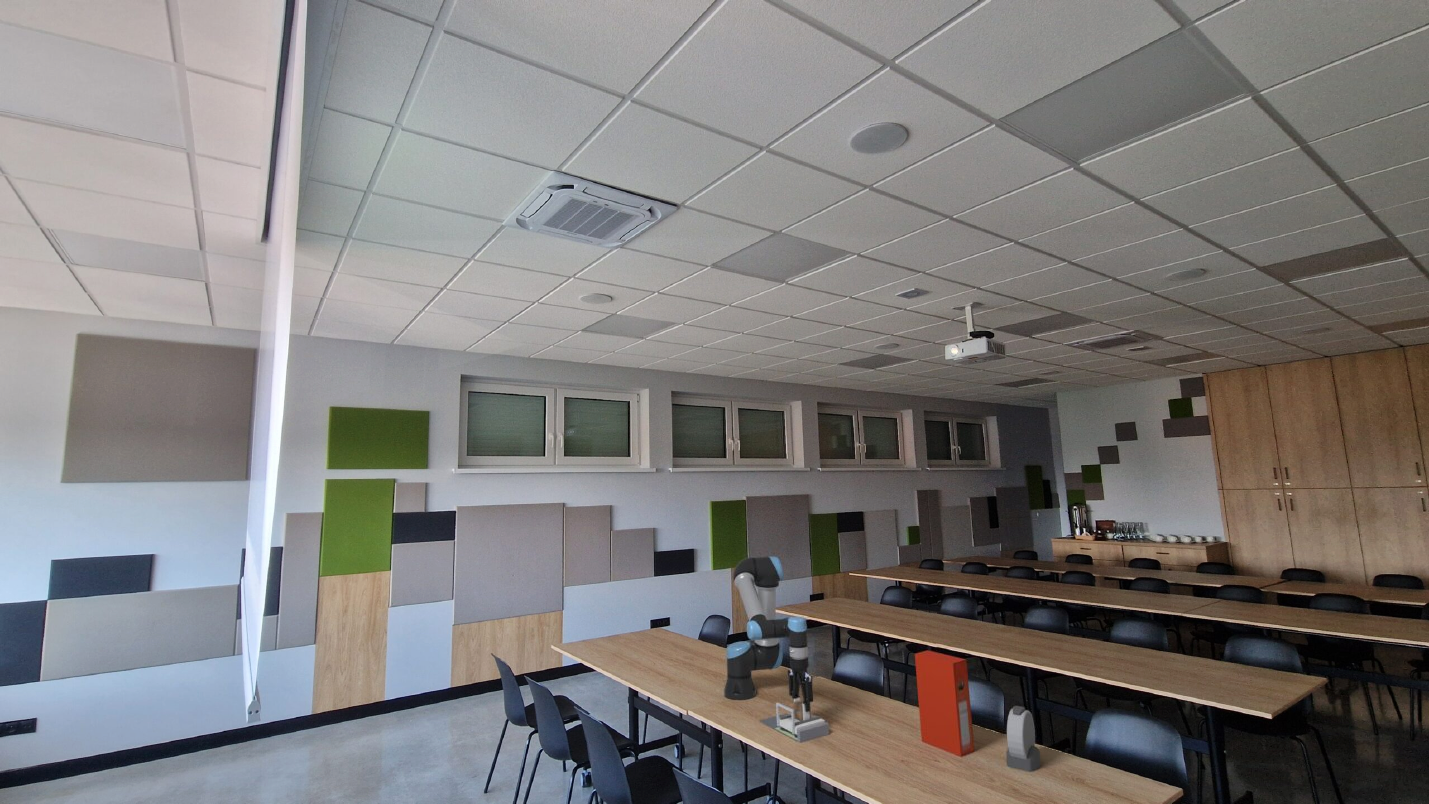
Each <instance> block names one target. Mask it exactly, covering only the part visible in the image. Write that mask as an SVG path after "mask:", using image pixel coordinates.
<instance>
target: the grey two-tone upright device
mask: <svg viewBox="0 0 1429 804" xmlns="http://www.w3.org/2000/svg"><path fill="white" fill-rule="evenodd" d="M1006 722H1007V723H1006V740H1007V749H1006V752H1005V755H1006V766H1007V767H1008V768H1010V769H1011V768H1012V769H1016V770H1019V771H1023V772H1028V773H1033V772H1036V771H1037V770H1038V769H1039V768H1040V767H1041V765H1042V763H1041V762H1042V761H1041V755H1040V749H1039V748H1038V747H1037V746H1035V745H1036V741H1035V740H1036V734H1035V733H1036V731H1035V724H1034V718H1033V715H1032V713H1031V712H1030V710H1028V709H1026V706H1025V707H1024V706H1021V705H1013V707H1012V708H1011V709H1010V710H1009V714H1008V716H1007V721H1006Z"/></svg>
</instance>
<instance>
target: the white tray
mask: <svg viewBox="0 0 1429 804" xmlns="http://www.w3.org/2000/svg"><path fill="white" fill-rule="evenodd" d="M780 708H782V709H784V710H787V711H788V712H791V713H790V714H789V715H786V716H783V717H779V715H780ZM775 709H776V711H775V712H776V716H777V726H780V728H781V730H785V729H787V730H789V731H791V732H792V734H794V736H795V737H796V738H797V730H801V729H804V728H808V727H811V726H815V725H819V724H822V723H826V721H825V719H822V717H821V716H819V715H818V716H816V715H814V714H812V713H811V719H807V720H803V721H799V720H797V719H795V717H794V710H793V708H791V707H789V706H787V705H784V704H782V703H780V702H776V703H775Z"/></svg>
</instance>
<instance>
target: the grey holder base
mask: <svg viewBox="0 0 1429 804" xmlns="http://www.w3.org/2000/svg"><path fill="white" fill-rule="evenodd" d="M786 715H790V714H788V713H783V714H779V717H783V716H786ZM758 722H759V723H762V724H763V725H765V726H767V727H770V728H771V729H773V730H775V731H777V732H779V733H781V734H782V735H785V737H789V738H790V739H792V740H794V741H796V742H798V743H799V744H800V743H805V742H808V741H811V740H814V739H819V738H822V737H824V736H829V735H830V729H829V727H830V726H829V723H828V722H825V723H822V724H819V725H815V726H811V727H808V728H804V729H801V730H797V738H796V737H795V736H794V734H792V732H791V731H789V730H787V729H785V730H781V728H780V726H777V715H776V716H772V717H768V718H764V719H759V720H758Z"/></svg>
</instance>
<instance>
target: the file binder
mask: <svg viewBox="0 0 1429 804" xmlns="http://www.w3.org/2000/svg"><path fill="white" fill-rule="evenodd" d="M914 659H915V671H916V672H915V674H916V684H917V685H916V686H917V698H918V699H917V700H918V709H919V711H918V712H919V723H920V725H919V726H920V736H921V742H922V743H924V744H928V745H930V746H933V747H936V748H937V749H940V750H943V751H945V752H948V753H950V754H953V755H955V756H958V757H960V758H962V757H964V756H967V755H969V754H971V753H973V752H975V743H974V742H975V741H974V729H973V719H972V709H971V696H970V686H969V685H970V684H969V674H968V664H967V663H968V661H967V659H965V658H961V657H957V656H953V655H949V654H944V653H941V652H936V651H934V650H933V651H932V650H929V649H928V650H924V651H920V652H917V653H916V652H915V653H914Z"/></svg>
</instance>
